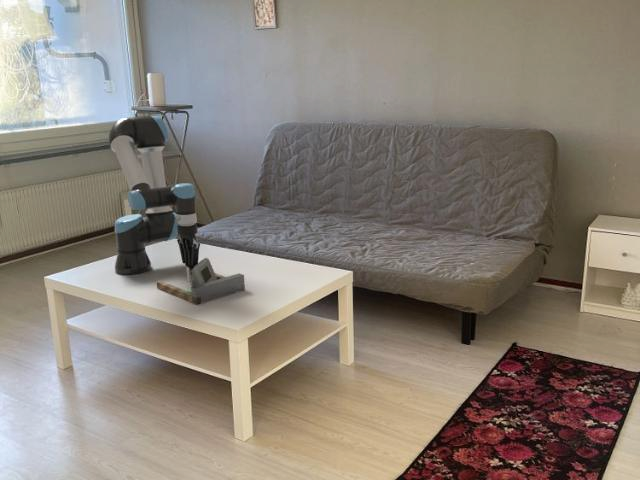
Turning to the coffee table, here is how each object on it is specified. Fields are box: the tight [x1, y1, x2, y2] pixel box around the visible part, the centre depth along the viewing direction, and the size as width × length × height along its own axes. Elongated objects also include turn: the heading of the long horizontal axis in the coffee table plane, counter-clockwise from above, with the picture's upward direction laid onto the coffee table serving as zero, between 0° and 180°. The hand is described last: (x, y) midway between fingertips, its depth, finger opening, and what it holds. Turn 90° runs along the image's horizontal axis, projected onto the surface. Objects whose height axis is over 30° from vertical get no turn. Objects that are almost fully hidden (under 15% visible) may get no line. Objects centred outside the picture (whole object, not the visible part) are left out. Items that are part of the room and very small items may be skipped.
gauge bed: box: [156, 273, 246, 305], centre depth 247 cm, size 28×22×3 cm
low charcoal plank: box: [190, 272, 246, 305], centre depth 238 cm, size 3×22×6 cm, turn 134°
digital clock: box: [190, 257, 218, 287], centre depth 247 cm, size 16×9×11 cm, turn 161°
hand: (191, 281), depth 252 cm, fingers closed
